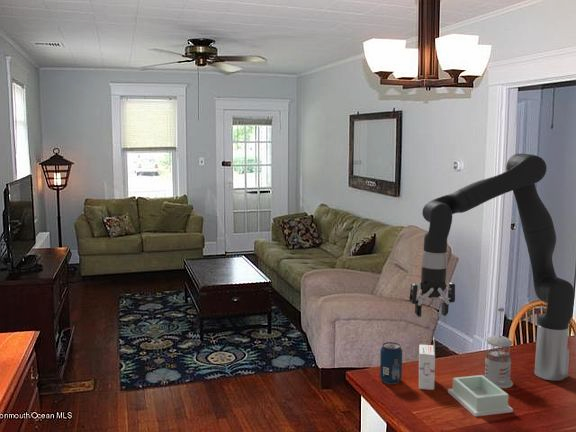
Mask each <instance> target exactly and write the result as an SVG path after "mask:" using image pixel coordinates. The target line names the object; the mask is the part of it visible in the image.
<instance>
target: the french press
mask: <svg viewBox="0 0 576 432" xmlns="http://www.w3.org/2000/svg"><path fill="white" fill-rule="evenodd" d="M497 311H498V312H499V314H500V316H499V323H502V322H501V319H502V312H505V309H504V307H503V306H499V307H498V308H497ZM485 341H486V343H487V344H488V345H490V346H494V347H497V348H494V349H493V348H492V349H488V350H487V351H486V354H485V361H484V363H485V366H484V375H483V376H484V377H486V378H487V379H488V380H490V381H491V382H492V383H494V384H495V385H496V386H498V387H499V388H500V389H508V388H512V387H513V385H514V382H513V381H512V380H511V371H512V370H511V366H512V365H511V364H512V358H511V357H510V356H511V353H510V350H511V348H510V347H511V346H512V345H513V343H514V342H513V340H511V339H510V338H508V337H506V336H503V335H501V327H499V330H498V335H497V334H496V335H492V336H488V337H486V339H485ZM500 348H503V349H500ZM506 348H508V351H507V350H506Z"/></svg>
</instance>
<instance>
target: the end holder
mask: <svg viewBox="0 0 576 432" xmlns="http://www.w3.org/2000/svg"><path fill="white" fill-rule="evenodd" d="M484 376H485V375H483V374H480V375H479V374H477V375H470V376H469V375H468V376H459V377H458V376H457V377H453V378H452V388H448V389H447V393H448V394H449V395H450V396H452V397H453V399H455V400H456V401H457V402H458V403H459V404H461V406H462V407H464V408H465V409H466V411H468V412H469V413H470V414H472V415H473V416H474V417H482V416H490V415H491V416H492V415H500V414H505V413H506V414H508V413H513V412H514V408H512V407H511V406H510V405H509V394H508V393H507V392H506V391H504V390H503V388H499V387H498V386H496V385H495V384H494V383H492V382H491V381H490V380H488V379H487V378H486V377H484Z"/></svg>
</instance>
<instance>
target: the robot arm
mask: <svg viewBox="0 0 576 432" xmlns="http://www.w3.org/2000/svg"><path fill="white" fill-rule="evenodd" d="M505 167H506V169H505V171H504V172H502V173H499V174H497V175H495V176H491V177H488V178H484V179H481V180H478V181H475V182H471V183H470V184H468V185H465V186H464V187H462V188H460V189H458V190H455V191H454V192H452V193H449V194H445V195H442V196H440V197H437V198H434V199H431V200H429V201H428V202H427V203H426V204H424V206H423V208H422V212H421V213H422V217H423V219H424V220H425V221H426V222H427V223H429V227H428V228H429V229H428V232H426V233H425V235H424V237H423V251H422V258H421V274H420V283H417V284H416V283H414V282H413V283H412V282H411V284H410V293H409V299H408V300H409V302H410V303H412V304H414V314H415V315H416V316H417V317H418V318H421V317H422V309H423V305H422V304H423V302H424V301H426V300H427V299H428V298H429V299H432V298H436V299H437V298H440V300H441V301H442V303H441V315H442V316H444V317H446V316H447V315H448V314H449V306H450V303H455V302H456V284H455V283H453V282H451V281H449V282H447V281H446V280H447V265H448V256H447V255H448V254H447V251H448V237H449V235H450V231H451V228H452V227H451V226H452V223H453V215H454V214H462V213H466V212H469V211H470V210H472V209H474V208H476V207H478V206H480V205H482V204H484V203H487V202H488V201H491V200H492V199H495V198H497V197H499V196H501V195H504V194H507V193H510V192H512V191H513V195H514V198H515V201H516V206H517V210H518V214H519V218H520V224H521V227H522V233H523V236H524V240H525V243H526V248H527V252H528V256H529V260H530V266H531V271H532V272H531V273H532V281H533V286H534V292H535V295H536V297H537V298H538V299H539V300H540V301H541V302H543V303H546V304H547V305H546V311H545V313H540V314H539V315H538V317H537V326H536V327H537V329H536V330H537V331H536V341H535V342H536V346H535V360H534V375H535V376H537V377H538V378H540V379H543V380H545V381H546V380H548V381H553V382H555V381H556V382H557V381H558V382H559V381H563V380H565V379H566V378H568V375H569V363H570V362H569V360H570V349H569V348H568V341H569V340H568V338H569V337H568V336H569V327H570V326H569V325H570V322H571V320H572V317H573V311H574V305H575V304H574V303H575V288H574V285H572V283H571V282H569V281H568V280H566V279H563V278H561V277H558V276H557V273H556V270H555V267H554V262H553V254H554V252H555V248H556V243H557V234H556V229H555V226H554V221H553V218H552V216H551V214H550V212H549V211H548V208H547V207H546V205H545V204H544V202H543V201H542V200H541V198H540V196H539V193H538V190H537V187H536V184H537V183H538V182H539V183H540V181H541V180H542V179H544V177H545V176H546V173H547V169H548V167H547V163H546V161H545V160H544V158H542V157H541V156H539V155H535V154H531V153H530V154H529V153H514V154H512V155H511V156H510V157H509V158H508V160H507V162H506V165H505ZM446 282H447V283H446ZM446 290H447V296H446V294H445V291H446ZM418 292H419V293H418Z"/></svg>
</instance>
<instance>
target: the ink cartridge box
mask: <svg viewBox="0 0 576 432" xmlns="http://www.w3.org/2000/svg"><path fill="white" fill-rule="evenodd" d="M432 339H433V342H435V337H434V336H433V338H432ZM435 374H436V345H435V343H433V344H419V347H418V389H419V390H431V391H435Z"/></svg>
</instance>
